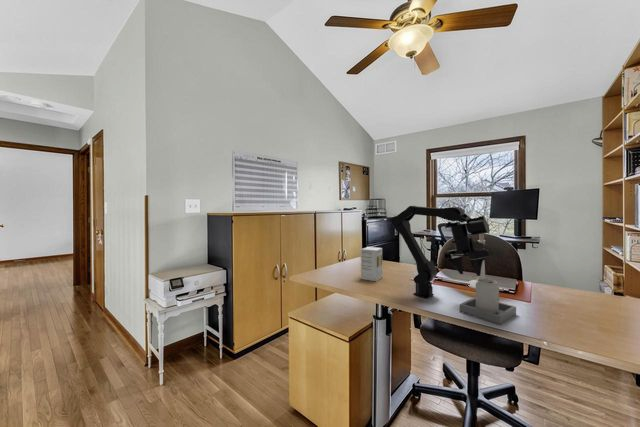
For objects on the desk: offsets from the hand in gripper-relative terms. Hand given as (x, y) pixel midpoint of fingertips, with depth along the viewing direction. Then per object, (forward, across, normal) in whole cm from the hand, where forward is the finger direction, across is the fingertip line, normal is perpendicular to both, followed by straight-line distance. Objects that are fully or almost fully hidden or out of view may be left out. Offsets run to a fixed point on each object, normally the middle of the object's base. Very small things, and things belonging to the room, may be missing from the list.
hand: (469, 274), depth 109 cm
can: (+14, -5, 0) cm, 14 cm away
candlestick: (+12, +22, -22) cm, 33 cm away
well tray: (+14, -5, 0) cm, 15 cm away
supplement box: (+1, +48, +23) cm, 53 cm away
